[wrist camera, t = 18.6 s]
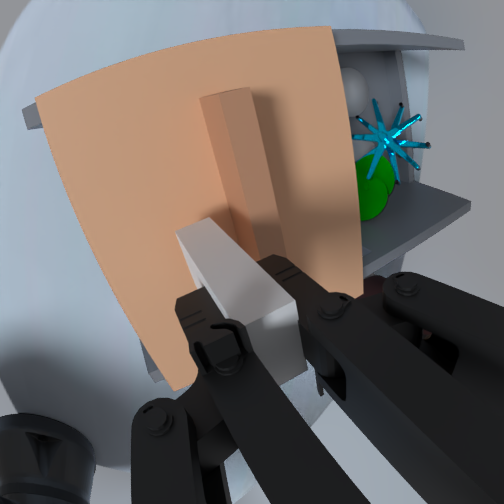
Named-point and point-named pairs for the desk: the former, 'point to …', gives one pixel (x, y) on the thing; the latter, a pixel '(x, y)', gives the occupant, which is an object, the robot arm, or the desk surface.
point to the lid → (209, 168)
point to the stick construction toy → (382, 162)
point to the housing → (376, 144)
